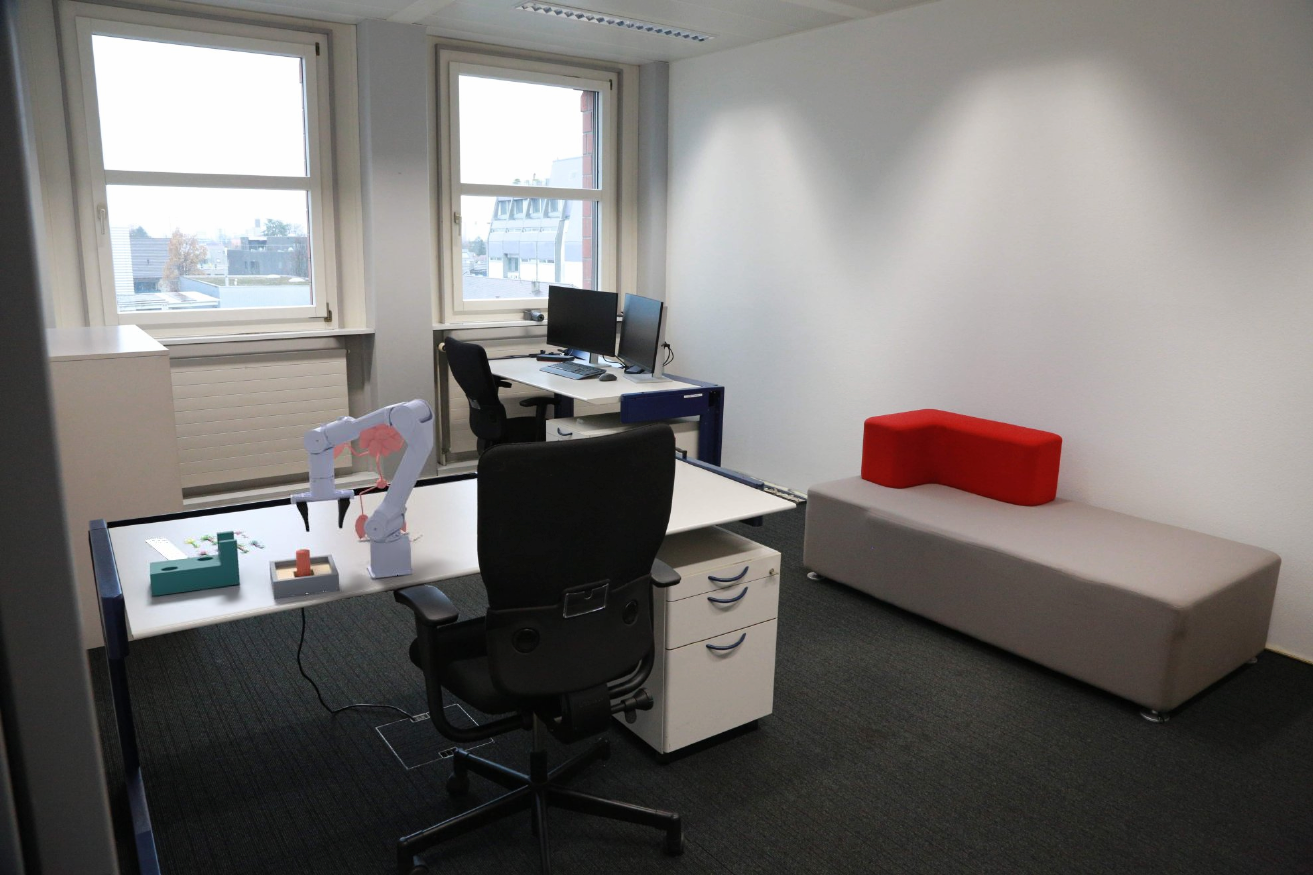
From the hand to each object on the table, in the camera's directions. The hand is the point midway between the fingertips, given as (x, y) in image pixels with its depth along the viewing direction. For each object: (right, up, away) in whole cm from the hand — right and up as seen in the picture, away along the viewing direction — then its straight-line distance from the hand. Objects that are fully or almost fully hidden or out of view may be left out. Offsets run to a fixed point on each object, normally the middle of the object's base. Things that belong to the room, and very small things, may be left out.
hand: (324, 528), depth 222 cm
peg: (-1, -12, -10) cm, 16 cm away
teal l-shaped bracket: (-25, -12, -12) cm, 31 cm away
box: (-1, -12, -10) cm, 16 cm away
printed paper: (-31, -6, +14) cm, 35 cm away
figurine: (+8, -5, +23) cm, 25 cm away
